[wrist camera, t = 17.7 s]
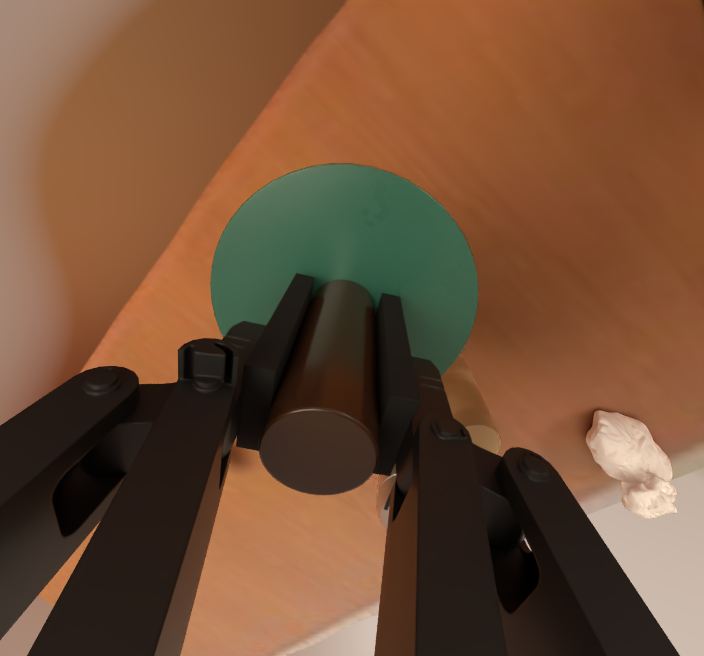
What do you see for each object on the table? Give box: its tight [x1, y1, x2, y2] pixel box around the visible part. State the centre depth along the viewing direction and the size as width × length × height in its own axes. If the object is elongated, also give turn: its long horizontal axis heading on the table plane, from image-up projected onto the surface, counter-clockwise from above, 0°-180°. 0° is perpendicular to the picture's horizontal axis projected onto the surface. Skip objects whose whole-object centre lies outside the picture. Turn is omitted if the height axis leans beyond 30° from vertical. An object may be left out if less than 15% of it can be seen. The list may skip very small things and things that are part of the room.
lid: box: [211, 163, 478, 495], centre depth 12 cm, size 11×11×9 cm
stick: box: [441, 352, 501, 454], centre depth 28 cm, size 3×3×20 cm
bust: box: [586, 410, 677, 519], centre depth 41 cm, size 12×8×11 cm
